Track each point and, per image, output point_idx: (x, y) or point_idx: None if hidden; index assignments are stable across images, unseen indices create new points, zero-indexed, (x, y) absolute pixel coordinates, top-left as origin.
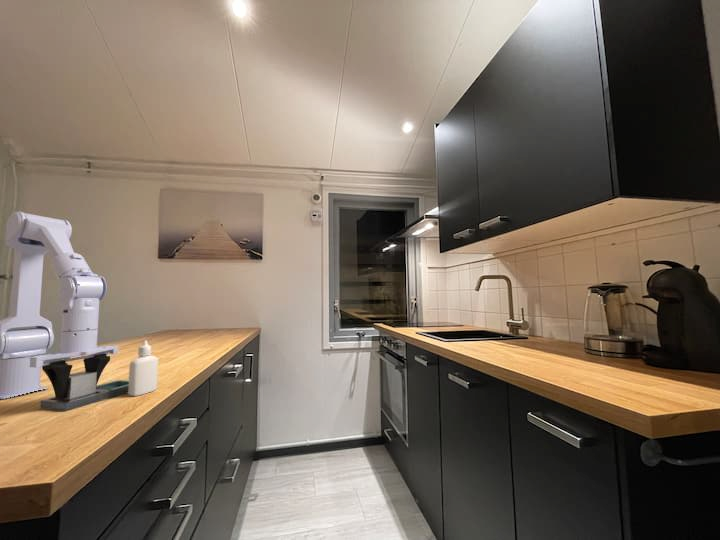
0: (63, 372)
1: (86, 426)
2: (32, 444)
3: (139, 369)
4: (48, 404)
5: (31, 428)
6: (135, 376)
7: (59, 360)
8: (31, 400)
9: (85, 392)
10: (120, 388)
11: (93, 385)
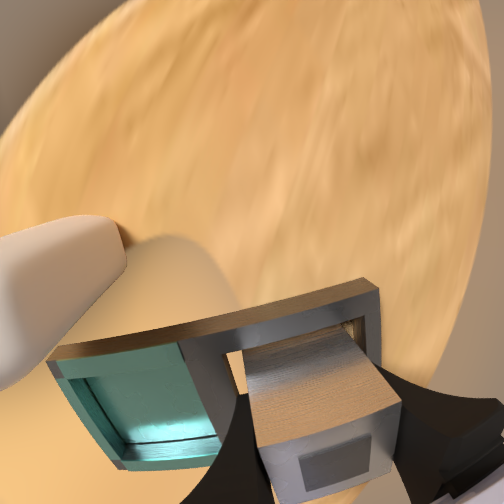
0: (459, 407)
1: (373, 5)
2: (462, 31)
3: (17, 244)
4: None
5: (459, 168)
6: (64, 240)
7: (474, 490)
8: None
9: (292, 363)
10: (138, 346)
11: (261, 388)
